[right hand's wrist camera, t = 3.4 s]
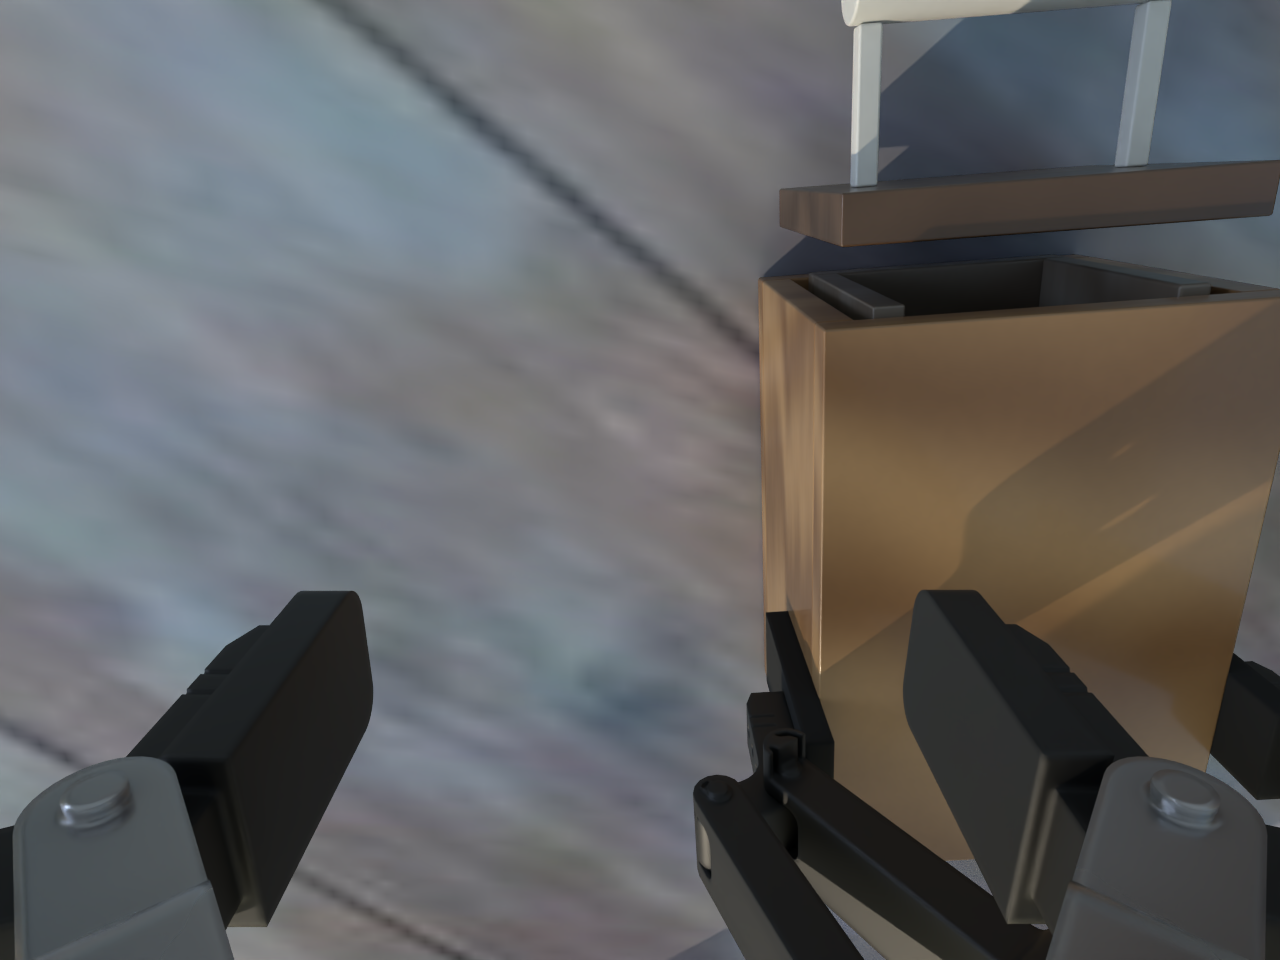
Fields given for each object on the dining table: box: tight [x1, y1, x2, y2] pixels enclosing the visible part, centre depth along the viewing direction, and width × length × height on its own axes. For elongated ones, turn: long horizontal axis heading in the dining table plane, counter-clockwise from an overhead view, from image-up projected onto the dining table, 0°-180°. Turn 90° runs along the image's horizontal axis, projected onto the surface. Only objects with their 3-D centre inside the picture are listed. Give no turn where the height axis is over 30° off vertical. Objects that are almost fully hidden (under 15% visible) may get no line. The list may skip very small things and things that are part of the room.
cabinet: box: [758, 255, 1280, 861], centre depth 26 cm, size 16×11×10 cm
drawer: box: [779, 0, 1280, 320], centre depth 23 cm, size 21×10×8 cm, turn 4°
